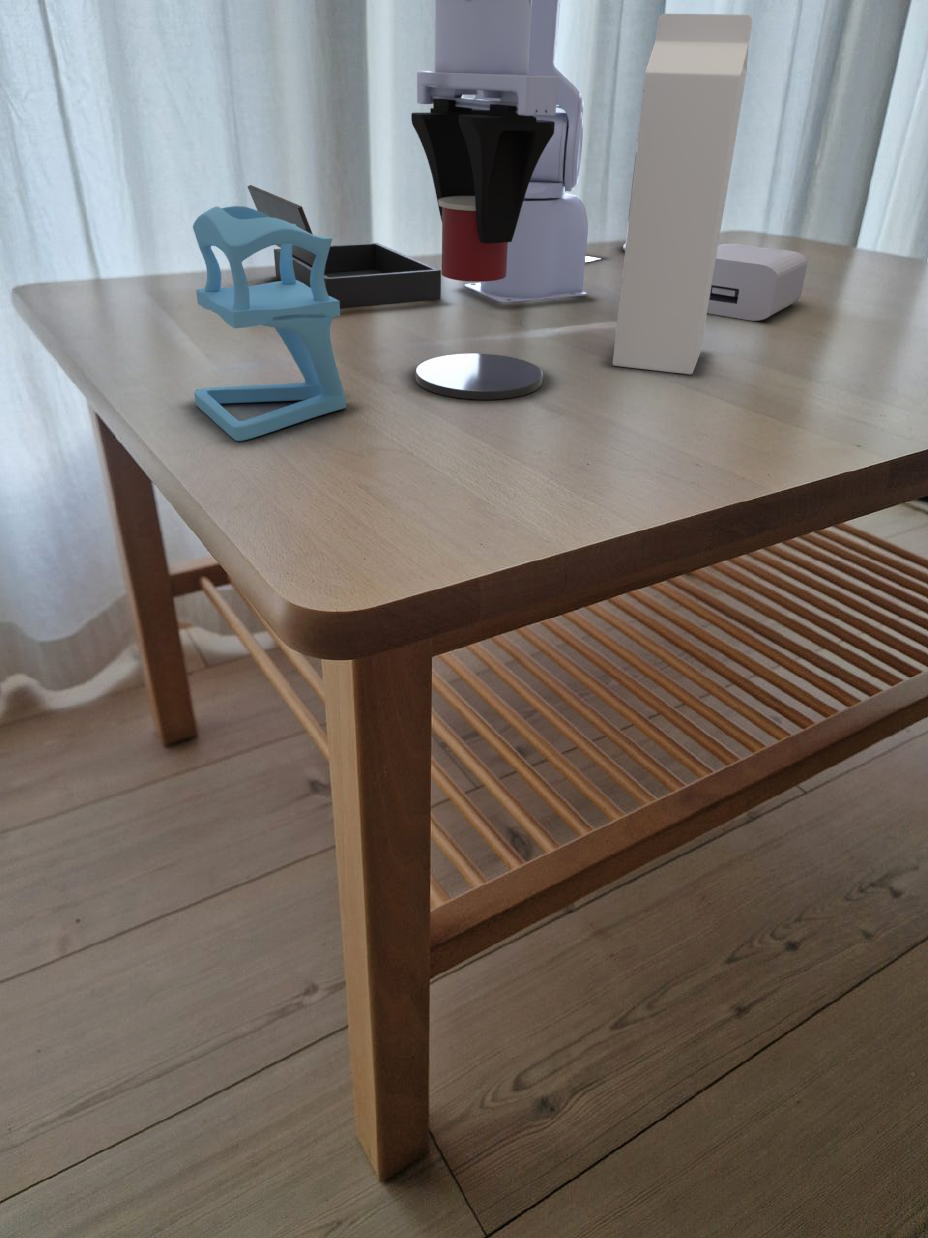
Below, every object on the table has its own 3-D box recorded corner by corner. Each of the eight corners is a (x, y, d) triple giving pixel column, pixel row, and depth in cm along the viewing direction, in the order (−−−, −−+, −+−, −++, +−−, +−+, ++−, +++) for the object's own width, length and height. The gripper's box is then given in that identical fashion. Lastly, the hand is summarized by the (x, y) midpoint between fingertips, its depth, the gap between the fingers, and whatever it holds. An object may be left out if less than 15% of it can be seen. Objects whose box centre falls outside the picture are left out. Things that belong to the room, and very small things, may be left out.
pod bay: (327, 314, 78) (325, 278, 76) (276, 280, 89) (273, 248, 87) (440, 304, 82) (441, 270, 81) (378, 273, 93) (377, 242, 92)
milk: (624, 346, 72) (663, 15, 60) (701, 354, 70) (756, 16, 58) (611, 366, 67) (650, 10, 55) (693, 375, 65) (751, 11, 53)
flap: (326, 269, 76) (322, 271, 76) (274, 240, 87) (271, 242, 87) (301, 205, 72) (297, 207, 72) (250, 184, 84) (247, 186, 84)
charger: (817, 294, 90) (767, 323, 79) (729, 281, 94) (671, 307, 83) (829, 244, 87) (779, 266, 77) (738, 233, 91) (679, 253, 81)
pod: (488, 265, 63) (490, 194, 61) (523, 279, 60) (527, 204, 57) (425, 270, 61) (426, 197, 59) (458, 284, 58) (459, 207, 55)
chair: (364, 419, 56) (356, 209, 49) (235, 442, 52) (209, 218, 45) (313, 385, 61) (300, 192, 55) (193, 403, 57) (165, 199, 51)
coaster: (503, 355, 68) (503, 348, 68) (566, 390, 62) (567, 381, 61) (395, 369, 65) (395, 360, 64) (450, 406, 58) (450, 397, 58)
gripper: (372, -14, 56) (378, 221, 63) (482, -28, 45) (473, 258, 52) (472, -8, 59) (466, 217, 66) (597, -20, 48) (574, 251, 55)
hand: (476, 235), depth 59 cm, fingers closed on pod, 5 cm apart
